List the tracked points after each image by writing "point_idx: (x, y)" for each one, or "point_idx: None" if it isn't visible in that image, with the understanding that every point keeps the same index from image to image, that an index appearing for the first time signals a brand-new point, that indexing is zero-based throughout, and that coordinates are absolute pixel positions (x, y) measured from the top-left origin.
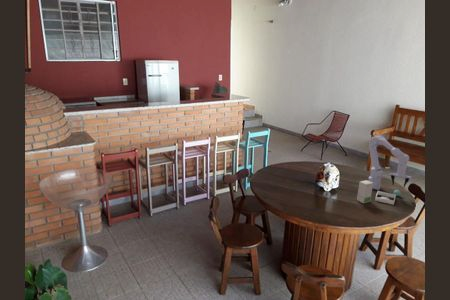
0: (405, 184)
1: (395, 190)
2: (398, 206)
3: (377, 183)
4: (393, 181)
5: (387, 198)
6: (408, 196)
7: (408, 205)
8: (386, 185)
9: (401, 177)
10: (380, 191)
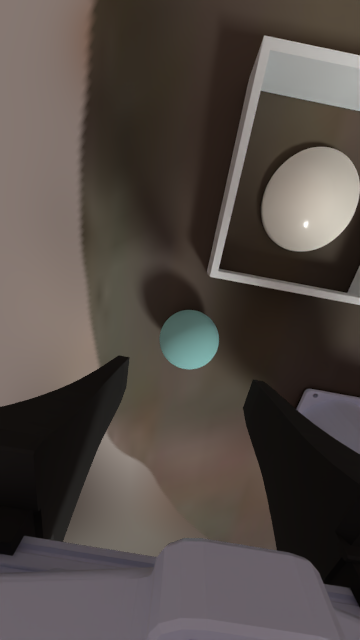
0: (89, 374)
1: (208, 346)
2: (205, 48)
3: (357, 439)
4: (291, 419)
5: (285, 219)
6: (102, 349)
7: (106, 139)
8: (230, 472)
9: (168, 548)
10: (352, 302)
